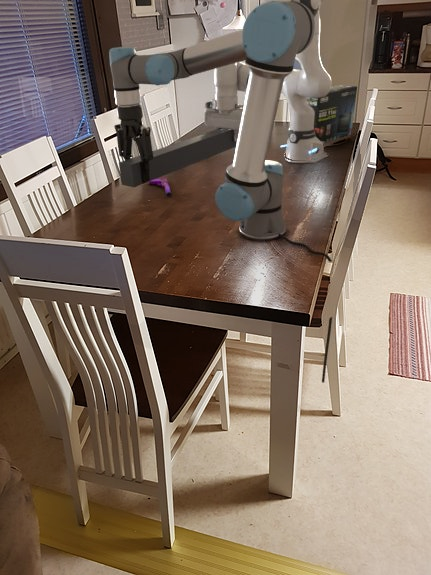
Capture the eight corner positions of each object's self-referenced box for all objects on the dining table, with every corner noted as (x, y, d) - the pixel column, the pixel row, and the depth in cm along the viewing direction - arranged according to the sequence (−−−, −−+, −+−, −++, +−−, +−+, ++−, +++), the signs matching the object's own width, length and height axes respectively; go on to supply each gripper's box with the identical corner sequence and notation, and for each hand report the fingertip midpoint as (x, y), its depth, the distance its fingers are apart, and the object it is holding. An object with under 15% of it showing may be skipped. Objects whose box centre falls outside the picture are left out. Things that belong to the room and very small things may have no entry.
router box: (314, 151, 231) (318, 94, 217) (296, 148, 237) (299, 92, 224) (352, 138, 251) (358, 85, 238) (335, 135, 258) (340, 83, 245)
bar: (134, 187, 145) (131, 164, 142) (121, 184, 148) (118, 162, 145) (240, 144, 187) (240, 126, 183) (229, 143, 190) (229, 125, 186)
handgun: (149, 183, 197) (148, 178, 196) (167, 181, 198) (166, 176, 197) (152, 198, 180) (152, 194, 179) (172, 196, 181) (171, 191, 180)
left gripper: (160, 104, 136) (168, 181, 148) (116, 101, 146) (127, 172, 157) (142, 109, 131) (152, 187, 143) (98, 105, 140) (111, 179, 152)
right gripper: (253, 103, 173) (253, 141, 180) (210, 100, 184) (212, 135, 191) (244, 106, 169) (245, 144, 176) (200, 103, 179) (202, 139, 187)
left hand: (139, 179), depth 150 cm, fingers closed on bar, 6 cm apart
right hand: (227, 140), depth 184 cm, fingers closed on bar, 5 cm apart
